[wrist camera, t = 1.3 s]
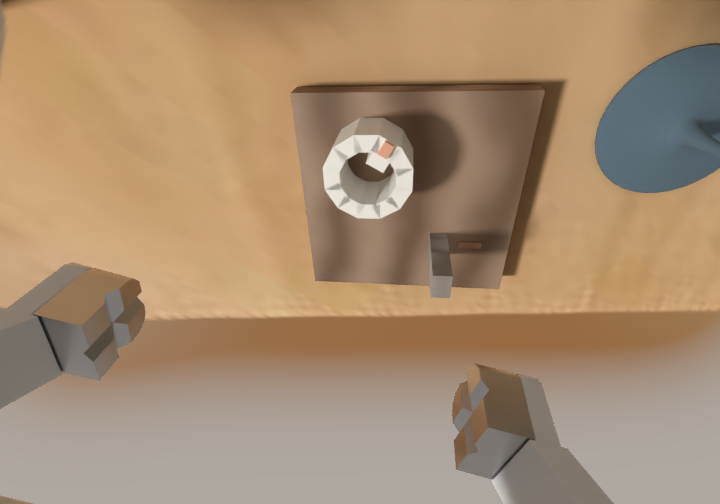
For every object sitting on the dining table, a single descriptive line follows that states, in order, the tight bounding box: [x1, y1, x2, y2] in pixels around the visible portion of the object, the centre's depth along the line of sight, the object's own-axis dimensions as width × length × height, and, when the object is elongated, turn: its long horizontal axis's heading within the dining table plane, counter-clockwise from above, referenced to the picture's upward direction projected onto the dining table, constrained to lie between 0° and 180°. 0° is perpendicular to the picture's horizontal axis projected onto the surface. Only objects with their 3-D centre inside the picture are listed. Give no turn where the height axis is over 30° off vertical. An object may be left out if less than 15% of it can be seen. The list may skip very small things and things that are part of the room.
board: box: [291, 84, 545, 298], centre depth 31 cm, size 18×18×8 cm
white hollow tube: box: [323, 118, 413, 219], centre depth 29 cm, size 6×6×4 cm
